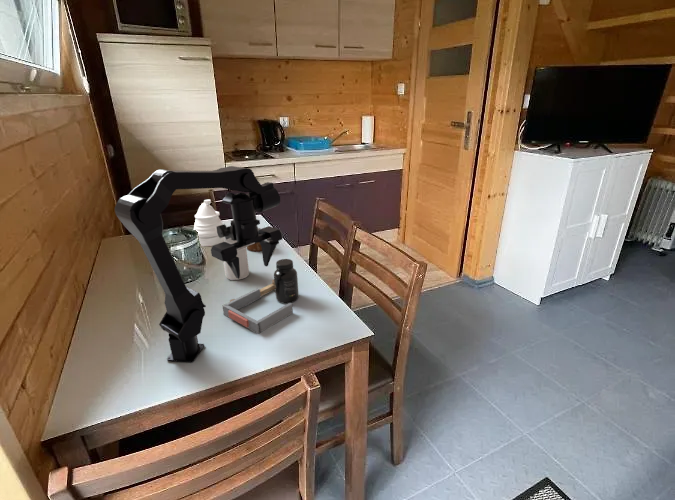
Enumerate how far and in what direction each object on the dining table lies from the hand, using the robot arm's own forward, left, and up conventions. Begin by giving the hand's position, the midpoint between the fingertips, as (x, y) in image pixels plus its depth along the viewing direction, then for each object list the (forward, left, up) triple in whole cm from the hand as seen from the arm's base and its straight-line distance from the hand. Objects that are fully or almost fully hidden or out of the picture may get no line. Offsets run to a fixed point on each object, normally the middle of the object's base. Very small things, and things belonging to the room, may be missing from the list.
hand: (252, 271), depth 101 cm
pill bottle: (+23, +15, -13) cm, 30 cm away
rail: (+9, +3, -13) cm, 16 cm away
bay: (0, 0, -13) cm, 13 cm away
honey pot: (+55, +39, -13) cm, 68 cm away
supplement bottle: (+9, -6, -13) cm, 17 cm away
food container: (+47, +18, -13) cm, 52 cm away
